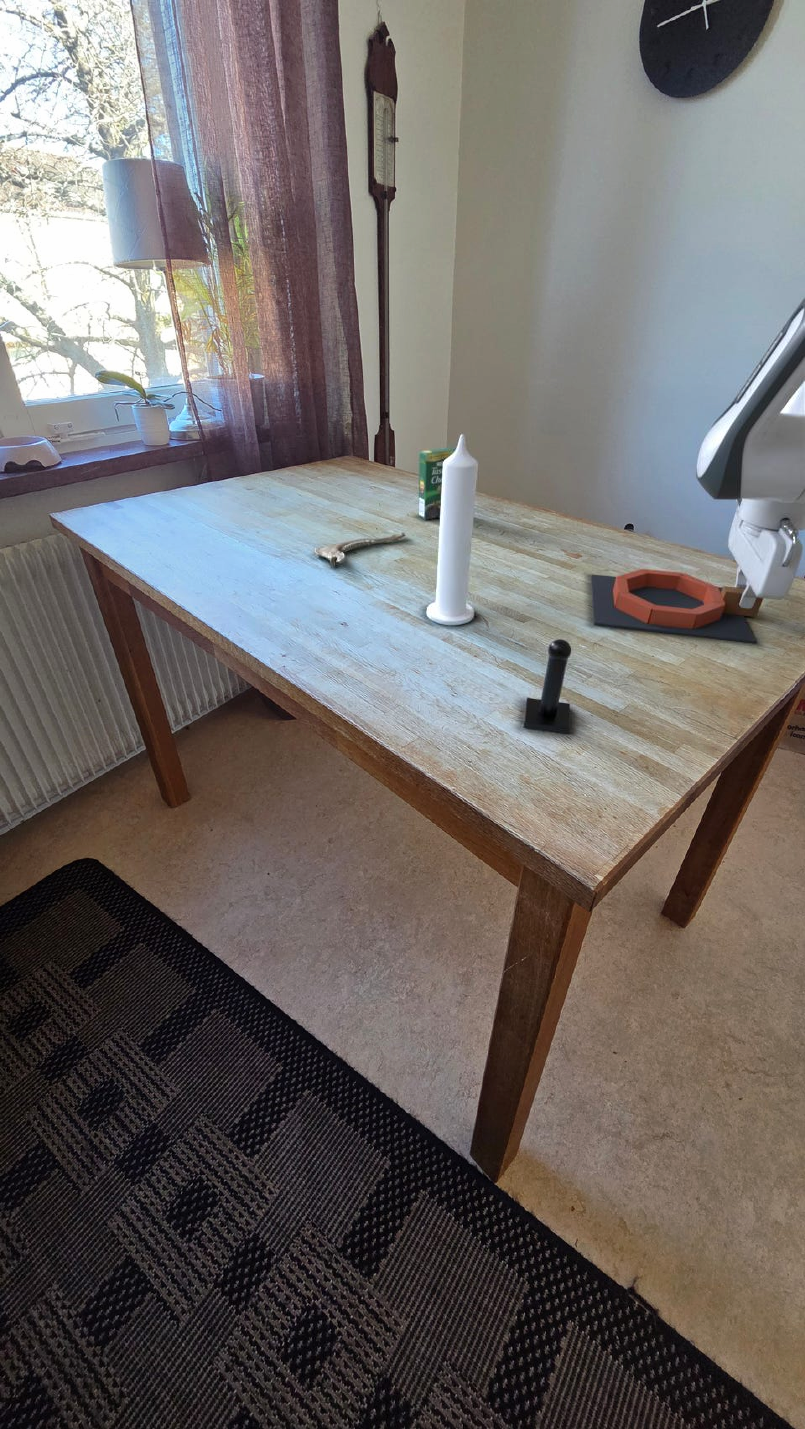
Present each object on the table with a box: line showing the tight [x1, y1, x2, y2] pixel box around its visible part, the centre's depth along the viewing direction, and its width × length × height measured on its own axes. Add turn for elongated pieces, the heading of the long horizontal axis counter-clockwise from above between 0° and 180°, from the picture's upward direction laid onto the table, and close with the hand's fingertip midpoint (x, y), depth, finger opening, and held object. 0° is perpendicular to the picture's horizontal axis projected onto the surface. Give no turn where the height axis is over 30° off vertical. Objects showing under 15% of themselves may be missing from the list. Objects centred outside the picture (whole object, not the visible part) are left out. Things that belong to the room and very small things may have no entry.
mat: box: [590, 574, 757, 644], centre depth 93 cm, size 22×18×1 cm
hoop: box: [613, 568, 765, 629], centre depth 92 cm, size 21×15×4 cm
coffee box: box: [417, 446, 457, 521], centre depth 123 cm, size 8×3×13 cm, turn 118°
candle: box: [426, 433, 479, 626], centre depth 83 cm, size 7×7×25 cm
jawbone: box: [313, 532, 406, 568], centre depth 110 cm, size 9×20×2 cm, turn 147°
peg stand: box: [523, 638, 572, 735], centre depth 66 cm, size 5×5×10 cm
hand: (741, 601), depth 90 cm, fingers closed on hoop, 2 cm apart
